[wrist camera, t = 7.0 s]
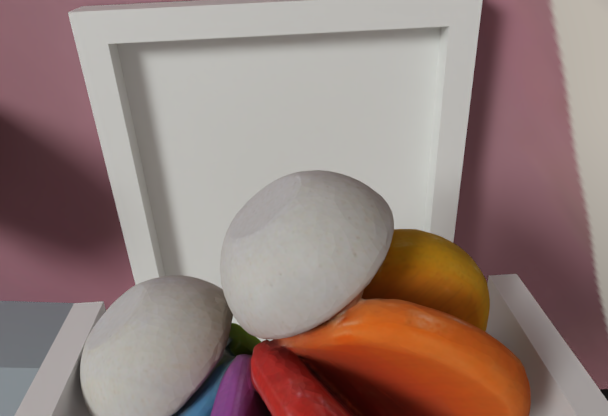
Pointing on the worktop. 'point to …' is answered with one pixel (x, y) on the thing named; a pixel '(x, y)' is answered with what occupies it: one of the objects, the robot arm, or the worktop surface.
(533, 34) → the worktop surface
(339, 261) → the multicoloured rounded cluster
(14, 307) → the slate block
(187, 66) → the tray
